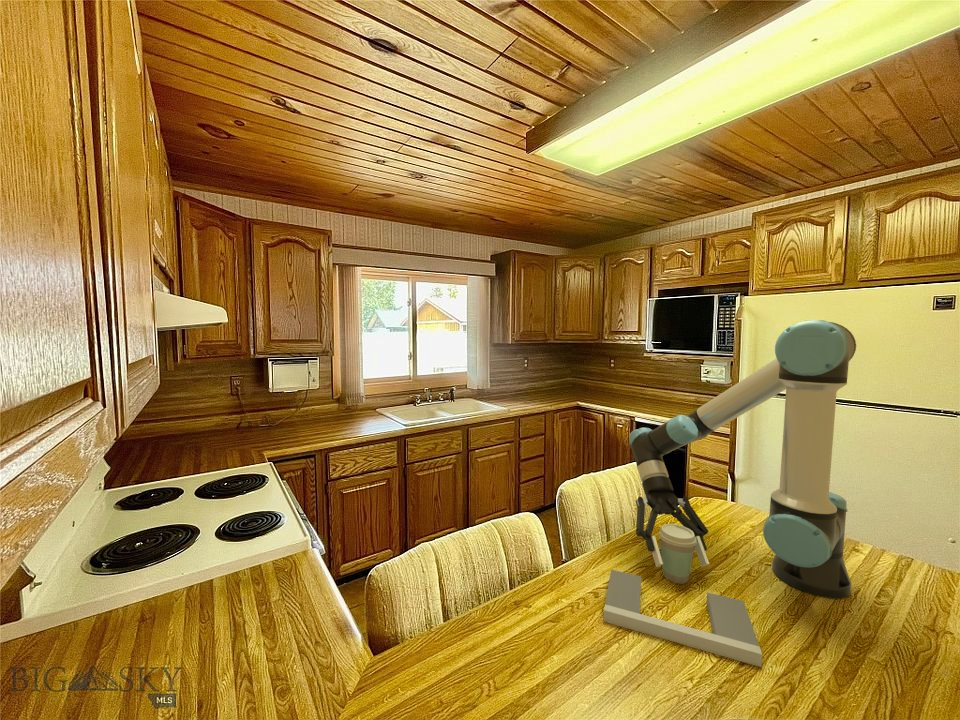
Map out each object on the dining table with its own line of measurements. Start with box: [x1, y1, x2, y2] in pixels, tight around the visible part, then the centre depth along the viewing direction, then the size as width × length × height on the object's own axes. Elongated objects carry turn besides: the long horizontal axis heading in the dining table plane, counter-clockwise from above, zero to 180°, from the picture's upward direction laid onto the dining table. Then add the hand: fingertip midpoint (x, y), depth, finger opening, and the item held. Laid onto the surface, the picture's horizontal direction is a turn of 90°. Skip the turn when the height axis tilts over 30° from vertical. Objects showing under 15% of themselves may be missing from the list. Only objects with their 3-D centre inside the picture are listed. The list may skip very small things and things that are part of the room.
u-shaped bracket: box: [603, 569, 763, 668], centre depth 85 cm, size 28×16×2 cm, turn 66°
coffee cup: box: [658, 523, 697, 585], centre depth 99 cm, size 8×8×12 cm
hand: (682, 565), depth 96 cm, fingers open, 11 cm apart
